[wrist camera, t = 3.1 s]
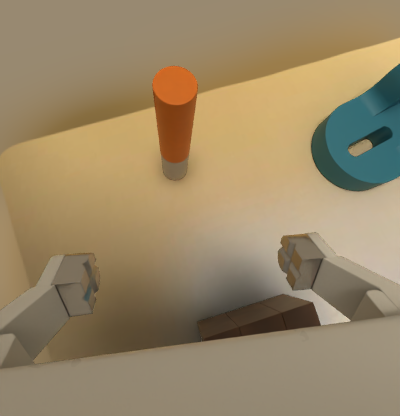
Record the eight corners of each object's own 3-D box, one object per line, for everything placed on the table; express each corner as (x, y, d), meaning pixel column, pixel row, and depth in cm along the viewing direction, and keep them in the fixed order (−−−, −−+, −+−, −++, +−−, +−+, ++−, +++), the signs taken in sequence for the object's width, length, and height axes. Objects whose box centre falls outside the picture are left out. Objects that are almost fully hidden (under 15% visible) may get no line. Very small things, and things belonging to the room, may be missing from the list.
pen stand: (245, 510, 22) (270, 597, 17) (196, 321, 26) (203, 338, 20) (339, 467, 24) (392, 532, 18) (283, 293, 27) (313, 302, 21)
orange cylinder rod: (165, 182, 28) (158, 108, 15) (160, 160, 29) (147, 69, 15) (189, 177, 29) (203, 100, 15) (183, 155, 29) (191, 62, 16)
